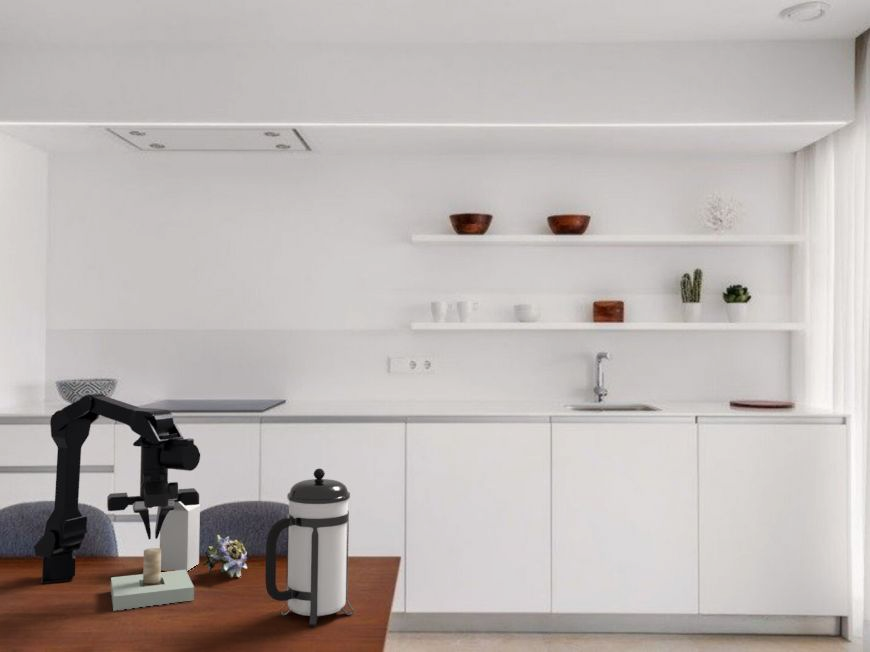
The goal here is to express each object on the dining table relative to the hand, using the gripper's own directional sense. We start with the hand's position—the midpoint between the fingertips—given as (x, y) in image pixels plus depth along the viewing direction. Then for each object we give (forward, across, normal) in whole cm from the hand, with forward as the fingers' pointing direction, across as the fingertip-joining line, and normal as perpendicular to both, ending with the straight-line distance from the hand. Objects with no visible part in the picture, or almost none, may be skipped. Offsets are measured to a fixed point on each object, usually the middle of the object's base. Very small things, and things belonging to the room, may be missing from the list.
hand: (152, 538), depth 169 cm
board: (+12, 0, 0) cm, 12 cm away
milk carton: (+13, +8, +19) cm, 24 cm away
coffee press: (+13, +29, -26) cm, 41 cm away
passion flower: (+13, +17, +9) cm, 23 cm away
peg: (+12, 0, 0) cm, 12 cm away
